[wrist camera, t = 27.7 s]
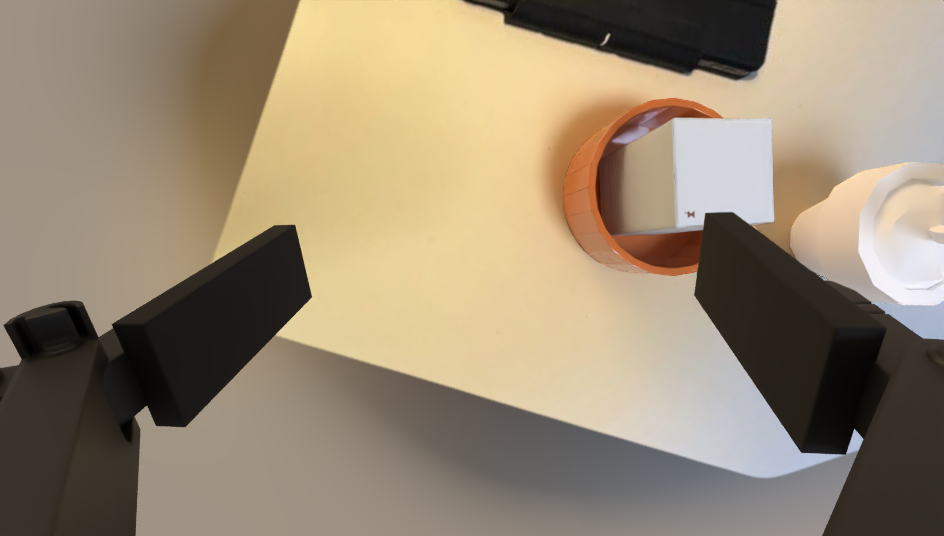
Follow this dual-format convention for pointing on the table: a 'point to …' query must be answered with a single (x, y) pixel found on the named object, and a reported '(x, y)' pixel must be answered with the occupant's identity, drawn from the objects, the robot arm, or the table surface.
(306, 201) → the table surface
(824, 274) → the potted plant
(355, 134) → the table surface
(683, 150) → the white packaging box
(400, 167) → the table surface
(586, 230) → the orange round bowl
